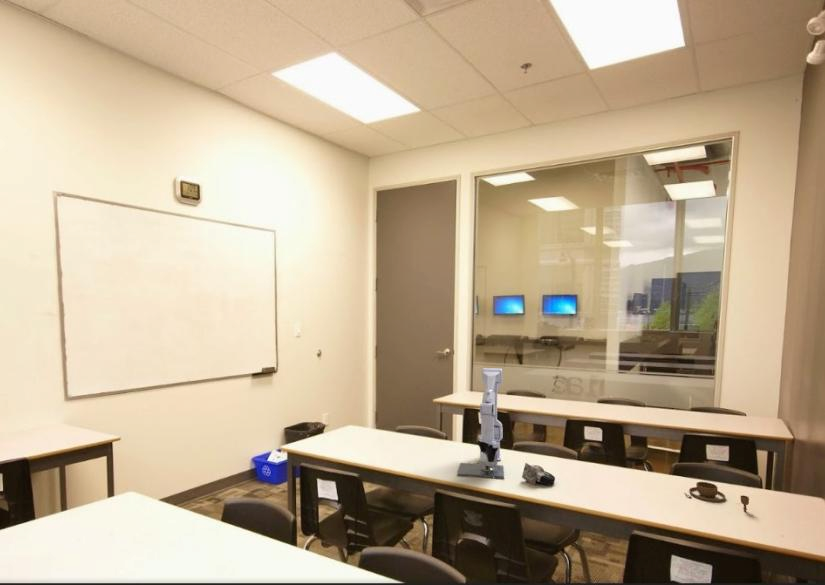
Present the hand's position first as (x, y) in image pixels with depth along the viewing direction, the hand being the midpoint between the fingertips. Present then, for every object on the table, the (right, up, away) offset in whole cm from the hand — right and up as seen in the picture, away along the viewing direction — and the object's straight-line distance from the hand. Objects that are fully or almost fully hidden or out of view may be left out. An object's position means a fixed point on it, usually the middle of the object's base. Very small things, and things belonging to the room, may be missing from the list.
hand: (487, 459), depth 202 cm
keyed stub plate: (-3, -5, -1) cm, 6 cm away
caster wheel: (+20, -5, -13) cm, 24 cm away
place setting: (+81, -5, -31) cm, 87 cm away
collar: (0, -2, 0) cm, 2 cm away
